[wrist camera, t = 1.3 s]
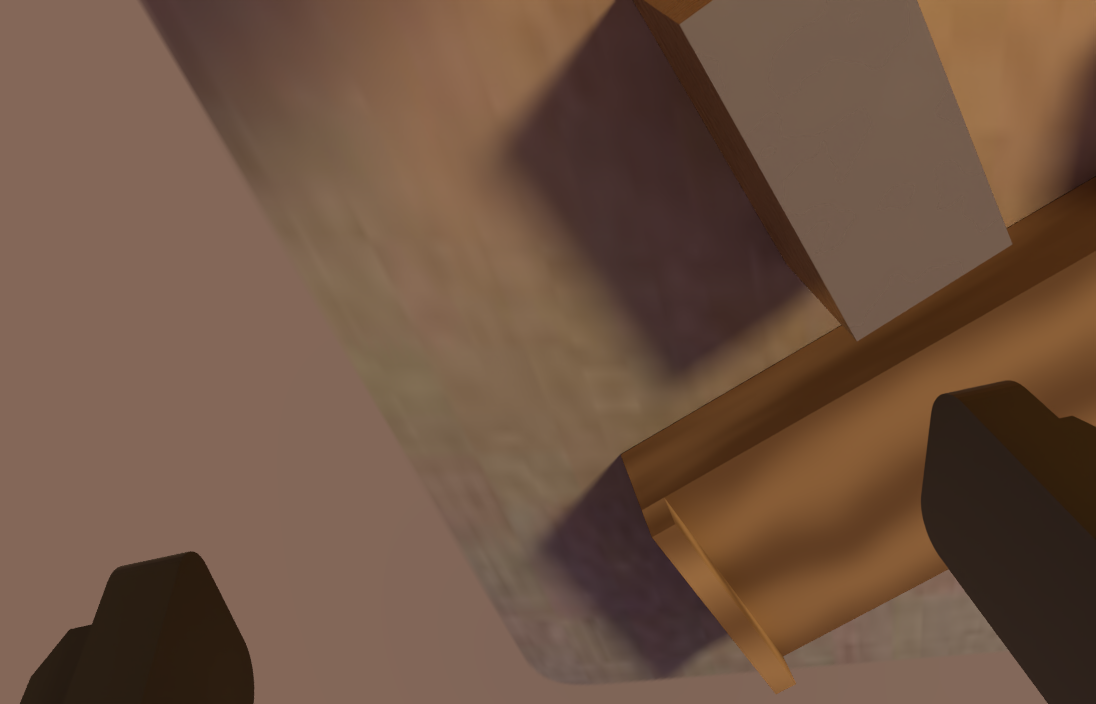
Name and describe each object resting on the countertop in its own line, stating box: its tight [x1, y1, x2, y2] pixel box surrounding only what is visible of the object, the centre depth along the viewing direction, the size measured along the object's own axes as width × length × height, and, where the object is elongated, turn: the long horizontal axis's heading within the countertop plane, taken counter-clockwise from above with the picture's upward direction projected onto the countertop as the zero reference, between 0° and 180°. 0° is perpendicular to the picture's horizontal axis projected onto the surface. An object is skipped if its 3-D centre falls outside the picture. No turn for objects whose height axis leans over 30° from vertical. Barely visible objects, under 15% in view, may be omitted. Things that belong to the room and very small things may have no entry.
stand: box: [621, 177, 1096, 694], centre depth 36 cm, size 12×22×5 cm, turn 122°
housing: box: [633, 0, 1012, 341], centre depth 27 cm, size 6×12×6 cm, turn 35°
